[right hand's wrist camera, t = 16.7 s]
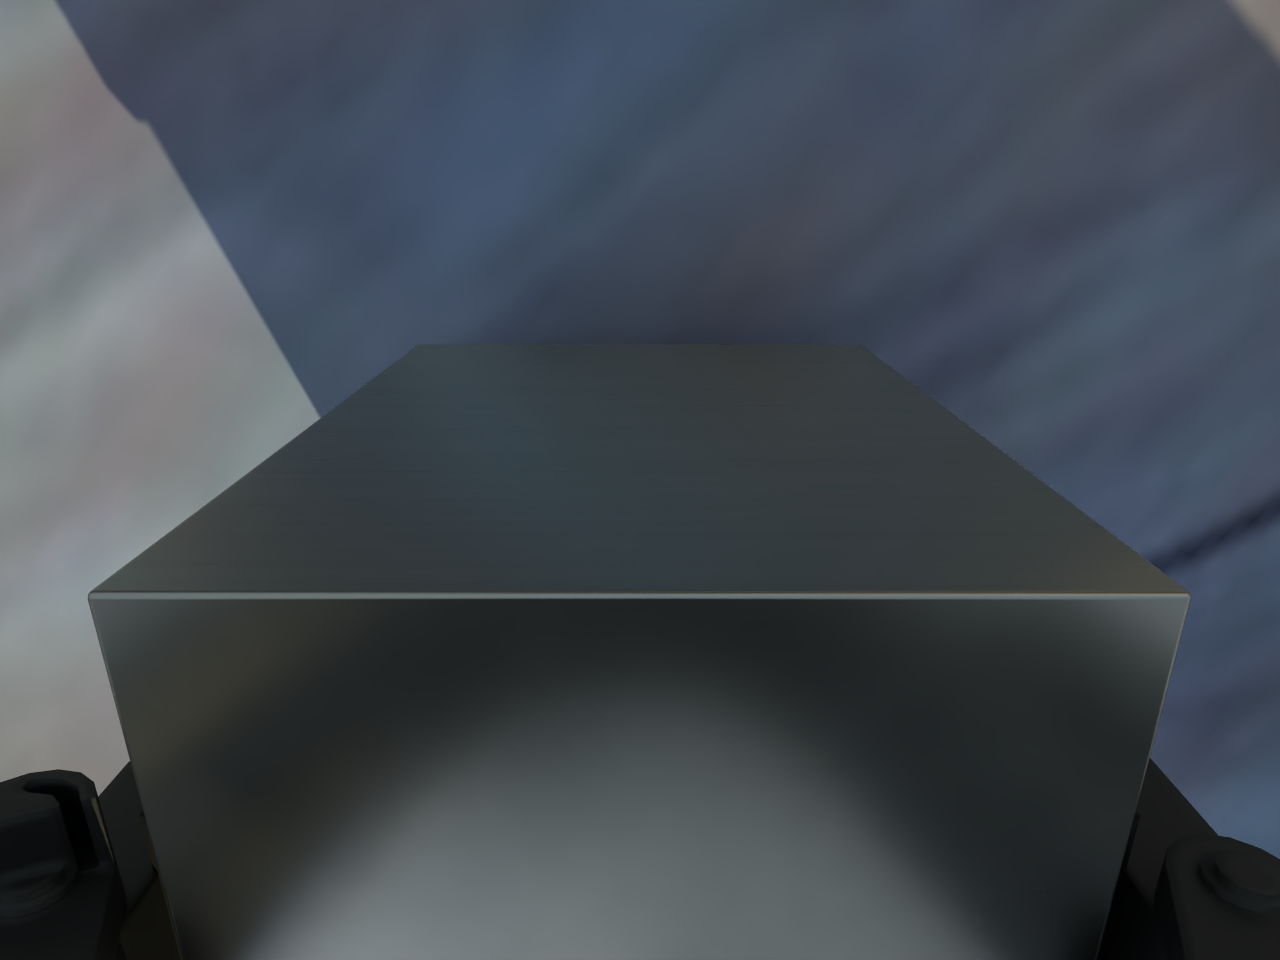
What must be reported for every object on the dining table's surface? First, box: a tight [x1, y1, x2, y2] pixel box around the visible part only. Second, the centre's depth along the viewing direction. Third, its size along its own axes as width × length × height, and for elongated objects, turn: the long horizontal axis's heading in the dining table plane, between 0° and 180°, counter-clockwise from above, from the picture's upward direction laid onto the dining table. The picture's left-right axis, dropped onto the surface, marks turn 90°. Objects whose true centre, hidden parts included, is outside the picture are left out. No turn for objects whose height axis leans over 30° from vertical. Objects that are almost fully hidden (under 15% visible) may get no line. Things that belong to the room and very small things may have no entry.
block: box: [88, 345, 1191, 960], centre depth 12 cm, size 8×8×9 cm
